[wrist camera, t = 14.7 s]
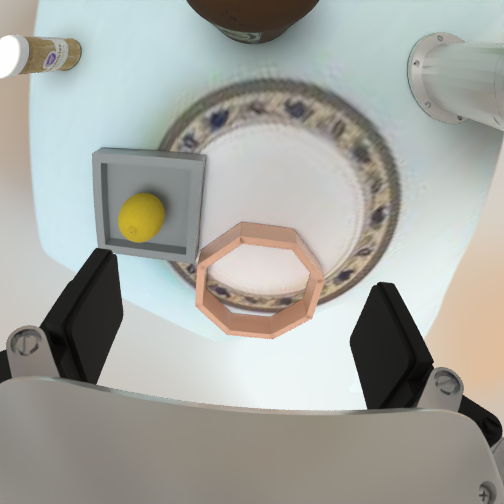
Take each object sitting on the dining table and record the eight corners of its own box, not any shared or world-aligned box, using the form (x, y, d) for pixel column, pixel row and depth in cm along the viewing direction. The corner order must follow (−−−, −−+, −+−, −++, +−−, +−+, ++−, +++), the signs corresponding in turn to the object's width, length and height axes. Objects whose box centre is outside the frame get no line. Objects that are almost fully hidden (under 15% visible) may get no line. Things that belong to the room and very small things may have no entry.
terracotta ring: (328, 233, 44) (334, 248, 41) (301, 324, 53) (303, 341, 49) (204, 217, 43) (199, 231, 40) (197, 313, 52) (194, 330, 48)
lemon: (155, 230, 43) (138, 262, 36) (123, 205, 41) (100, 233, 34) (179, 202, 41) (164, 230, 34) (146, 175, 39) (124, 199, 32)
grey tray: (205, 154, 39) (202, 161, 36) (197, 252, 46) (194, 263, 43) (101, 147, 38) (92, 153, 35) (106, 240, 45) (98, 250, 42)
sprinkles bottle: (77, 72, 32) (13, 80, 21) (51, 69, 31) (-16, 78, 20) (86, 39, 30) (23, 34, 18) (58, 37, 29) (-7, 35, 18)
